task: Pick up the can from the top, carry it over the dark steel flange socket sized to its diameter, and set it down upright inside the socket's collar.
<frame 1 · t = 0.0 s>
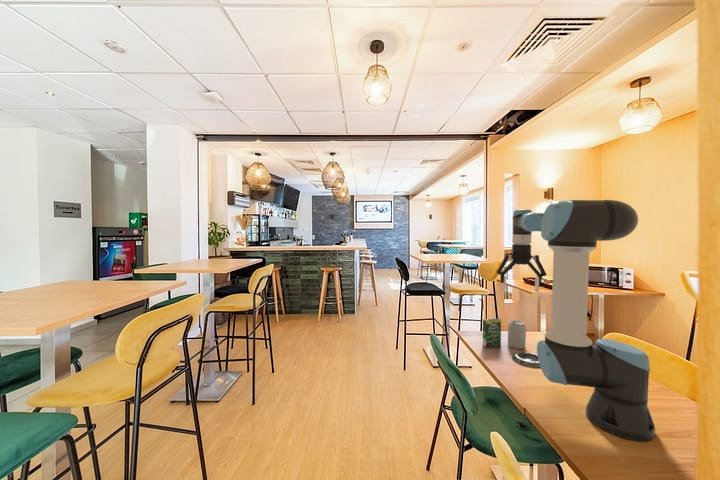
hand: (520, 290, 137), 28 cm above the table, tool pointing down, fingers open, 13 cm apart
flange socket: (529, 360, 128), on the table
coffee box: (491, 347, 143), on the table
can: (516, 347, 143), on the table
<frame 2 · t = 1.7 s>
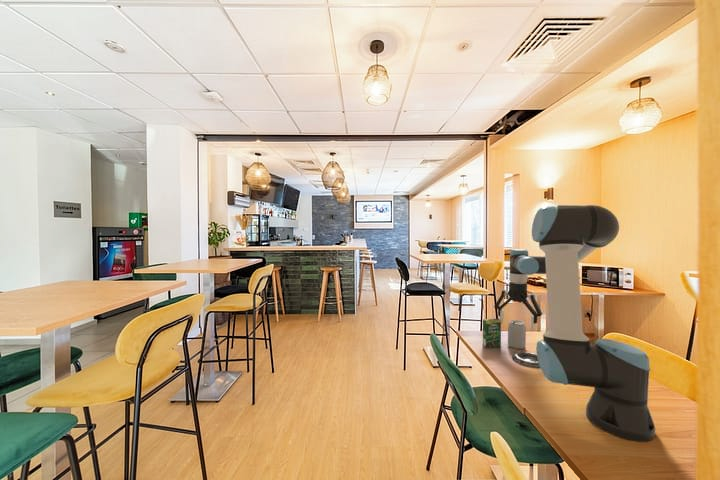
hand: (516, 326, 142), 10 cm above the table, tool pointing down, fingers open, 13 cm apart
nothing on the table moved.
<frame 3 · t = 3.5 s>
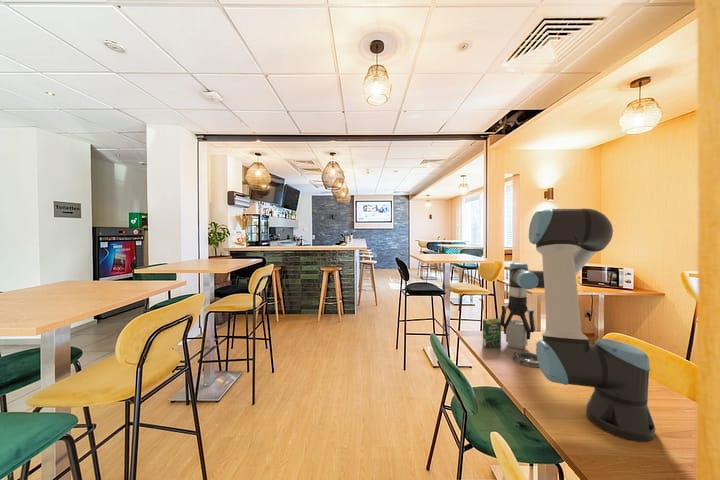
hand: (516, 343, 143), 2 cm above the table, tool pointing down, fingers closed on can, 7 cm apart
can: (516, 347, 143), on the table, touching gripper
everything else where it was.
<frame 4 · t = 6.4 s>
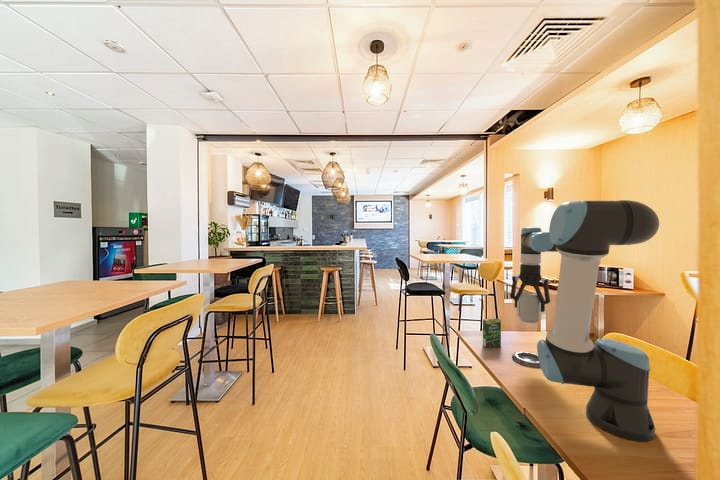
hand: (529, 317, 128), 18 cm above the table, tool pointing down, fingers closed on can, 7 cm apart
can: (528, 321, 128), point 17 cm above the table, touching gripper
everything else where it was.
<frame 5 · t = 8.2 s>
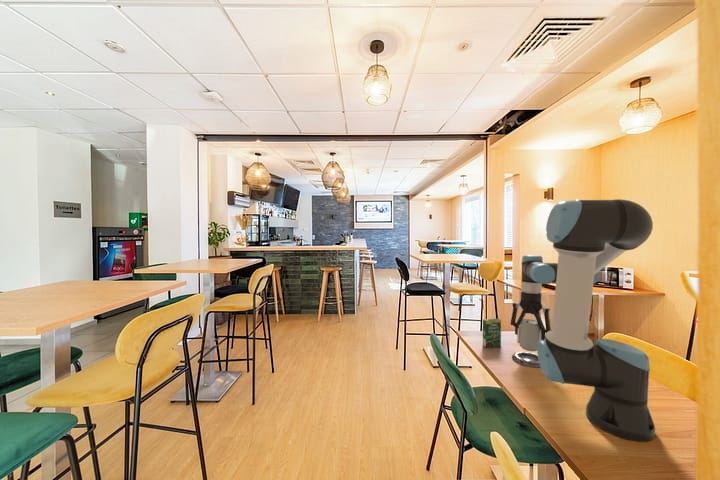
hand: (529, 344, 128), 7 cm above the table, tool pointing down, fingers closed on can, 7 cm apart
can: (529, 349, 128), point 5 cm above the table, touching gripper
everything else where it was.
when the fingers open (4 cm above the table, at t = 9.5 s): can drops 2 cm, resting on flange socket.
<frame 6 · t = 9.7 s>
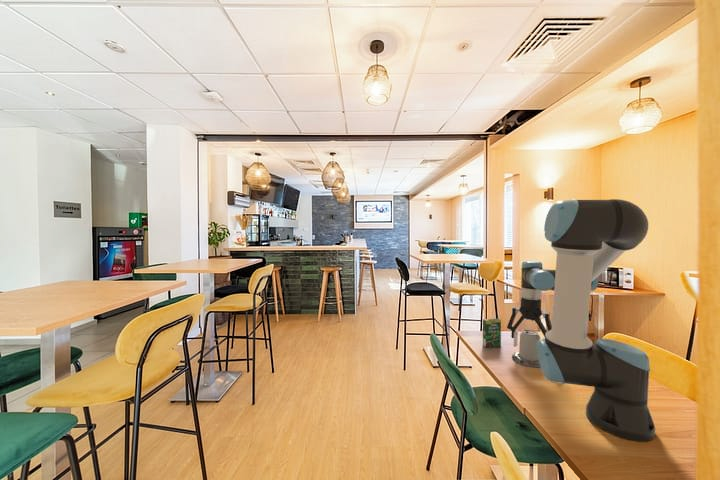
hand: (529, 349, 128), 5 cm above the table, tool pointing down, fingers open, 10 cm apart
can: (528, 359, 128), resting on flange socket
everything else where it was.
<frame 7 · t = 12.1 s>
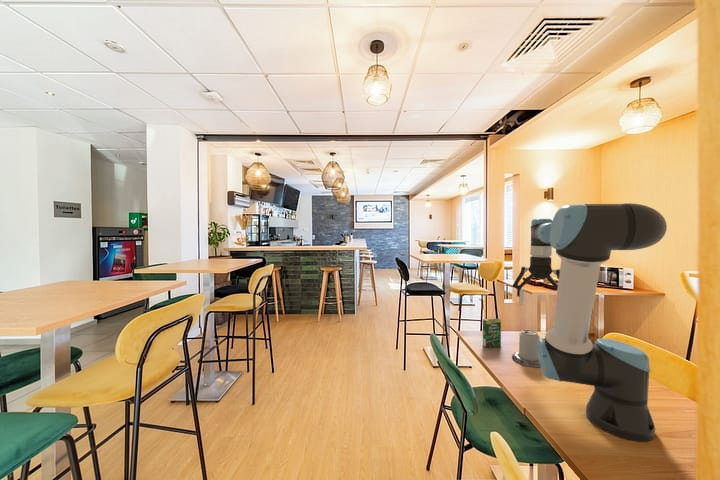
hand: (539, 307, 125), 24 cm above the table, tool pointing down, fingers open, 13 cm apart
nothing on the table moved.
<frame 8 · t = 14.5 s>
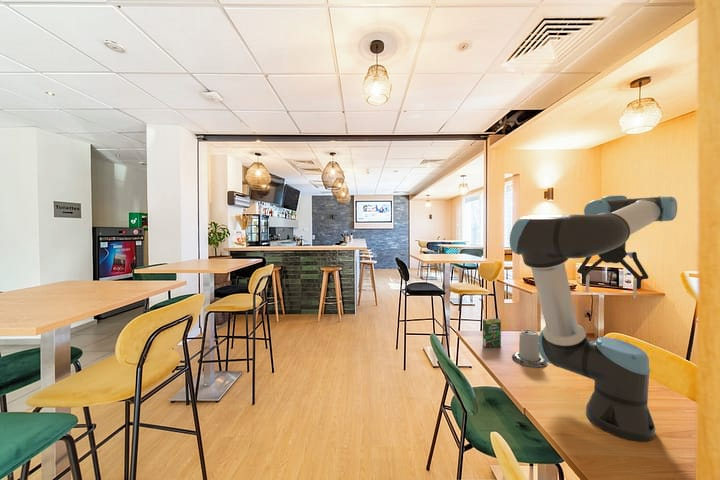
hand: (609, 294, 112), 32 cm above the table, tool pointing down, fingers open, 13 cm apart
nothing on the table moved.
at the end: can 0.0 cm off-centre on the flange socket, point 0.4 cm above the flange socket's base; can tilted 0°; the gripper is holding nothing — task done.
